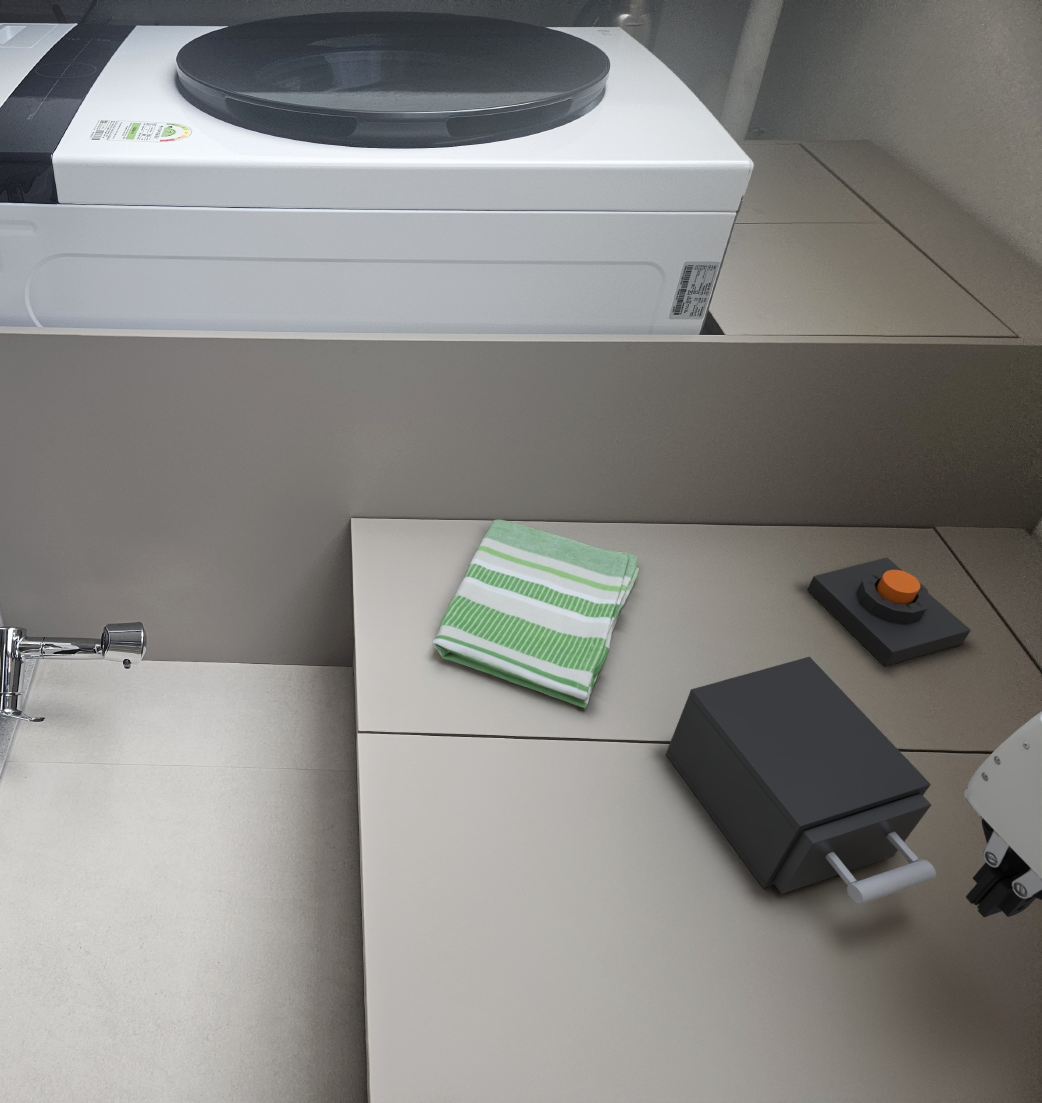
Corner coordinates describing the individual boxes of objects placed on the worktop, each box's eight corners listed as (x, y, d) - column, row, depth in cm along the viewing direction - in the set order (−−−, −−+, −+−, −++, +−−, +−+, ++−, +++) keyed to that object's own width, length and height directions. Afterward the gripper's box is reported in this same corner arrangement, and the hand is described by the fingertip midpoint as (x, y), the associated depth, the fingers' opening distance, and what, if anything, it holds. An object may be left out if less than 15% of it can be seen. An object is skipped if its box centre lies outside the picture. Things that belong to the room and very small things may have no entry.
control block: (962, 644, 101) (979, 617, 99) (884, 666, 99) (899, 640, 97) (879, 571, 110) (893, 545, 107) (806, 590, 108) (819, 564, 105)
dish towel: (639, 569, 111) (644, 552, 109) (591, 714, 95) (596, 697, 93) (491, 527, 117) (493, 510, 115) (422, 657, 101) (424, 639, 99)
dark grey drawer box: (885, 847, 84) (931, 784, 77) (762, 888, 81) (800, 826, 75) (776, 721, 94) (809, 656, 88) (665, 754, 91) (690, 689, 85)
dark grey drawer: (932, 900, 79) (974, 850, 74) (816, 941, 77) (852, 892, 71) (790, 735, 92) (817, 682, 87) (687, 765, 89) (709, 713, 84)
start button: (921, 600, 101) (928, 588, 100) (893, 607, 101) (900, 596, 99) (896, 578, 104) (902, 566, 103) (869, 585, 103) (875, 573, 102)
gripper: (1319, 835, 50) (1129, 986, 63) (1072, 637, 61) (951, 799, 73) (1210, 877, 49) (1038, 1023, 61) (976, 667, 59) (869, 827, 72)
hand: (991, 901), depth 67 cm, fingers closed
